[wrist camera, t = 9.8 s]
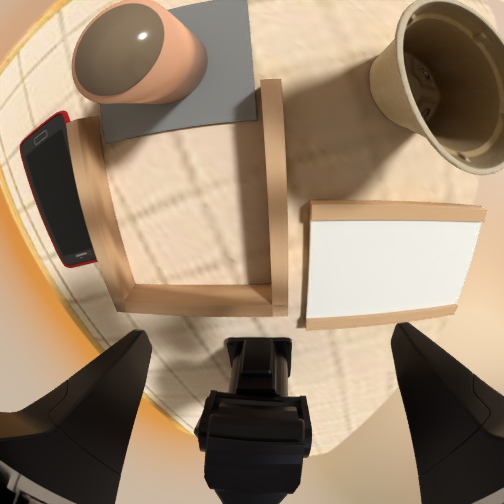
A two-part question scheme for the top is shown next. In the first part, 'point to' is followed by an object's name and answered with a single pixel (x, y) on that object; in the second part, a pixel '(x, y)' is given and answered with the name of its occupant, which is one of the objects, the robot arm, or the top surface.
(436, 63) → the flower pot
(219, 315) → the wooden u-shaped frame
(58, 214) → the cell phone
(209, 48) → the mat
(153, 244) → the top surface
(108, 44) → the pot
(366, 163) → the top surface
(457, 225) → the wood framed whiteboard
